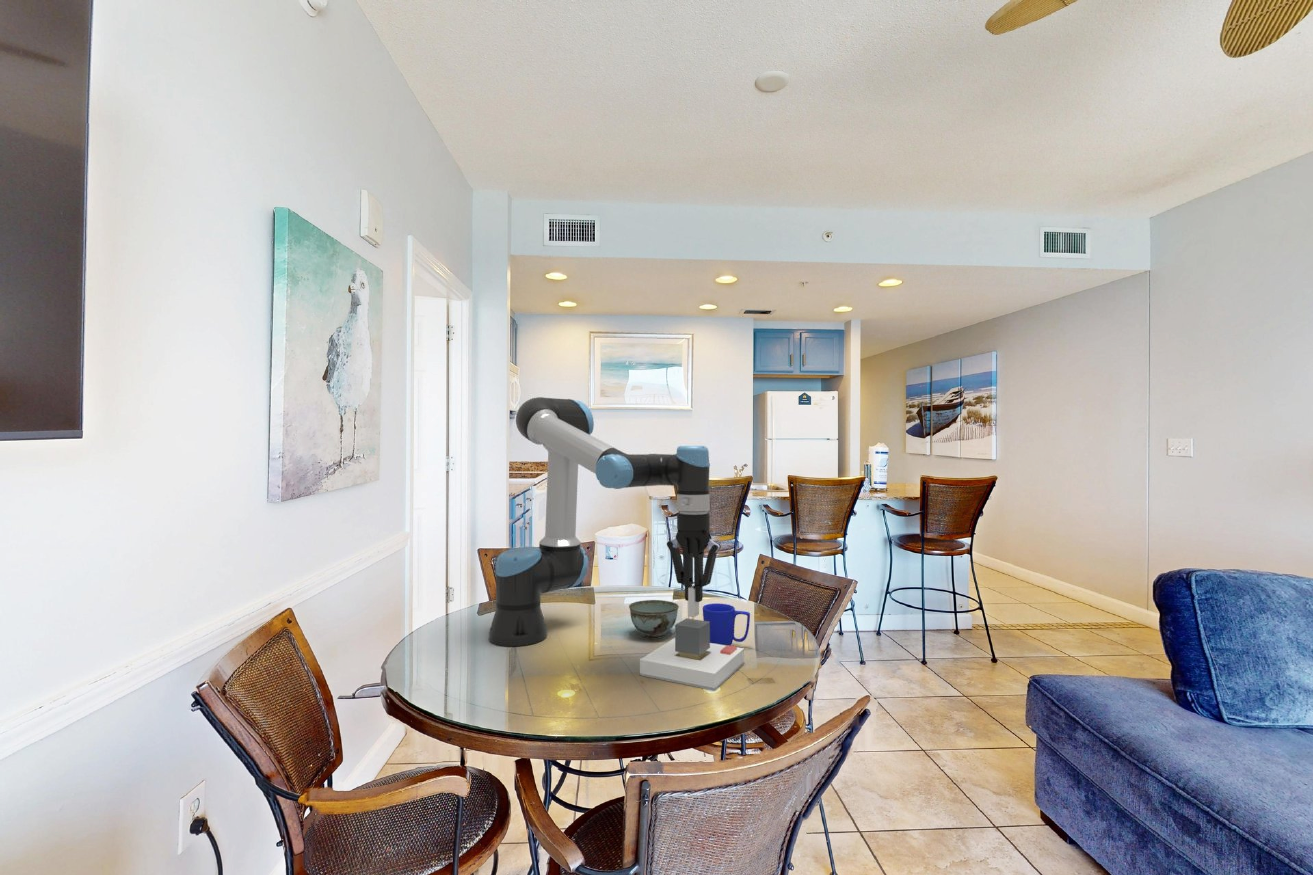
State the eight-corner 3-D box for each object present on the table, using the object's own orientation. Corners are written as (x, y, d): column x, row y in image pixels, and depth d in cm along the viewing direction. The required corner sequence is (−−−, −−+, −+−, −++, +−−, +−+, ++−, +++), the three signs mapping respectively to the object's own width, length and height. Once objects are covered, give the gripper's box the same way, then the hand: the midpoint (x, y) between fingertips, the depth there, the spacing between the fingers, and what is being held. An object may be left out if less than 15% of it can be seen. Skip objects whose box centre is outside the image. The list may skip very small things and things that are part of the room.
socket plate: (639, 675, 135) (640, 656, 135) (675, 651, 150) (675, 634, 150) (714, 690, 126) (714, 670, 126) (744, 663, 142) (743, 645, 142)
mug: (749, 654, 148) (749, 613, 149) (700, 650, 151) (700, 610, 151) (750, 643, 156) (750, 604, 157) (704, 640, 159) (704, 602, 159)
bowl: (669, 645, 155) (669, 614, 155) (621, 639, 159) (621, 609, 160) (684, 630, 168) (684, 601, 168) (640, 625, 172) (640, 597, 172)
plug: (675, 668, 137) (675, 624, 137) (686, 660, 142) (686, 618, 142) (699, 673, 134) (699, 628, 134) (709, 664, 139) (709, 621, 140)
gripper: (660, 512, 139) (661, 615, 138) (713, 515, 132) (713, 623, 132) (675, 509, 145) (675, 608, 145) (725, 512, 139) (726, 614, 139)
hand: (693, 615), depth 138 cm, fingers closed
